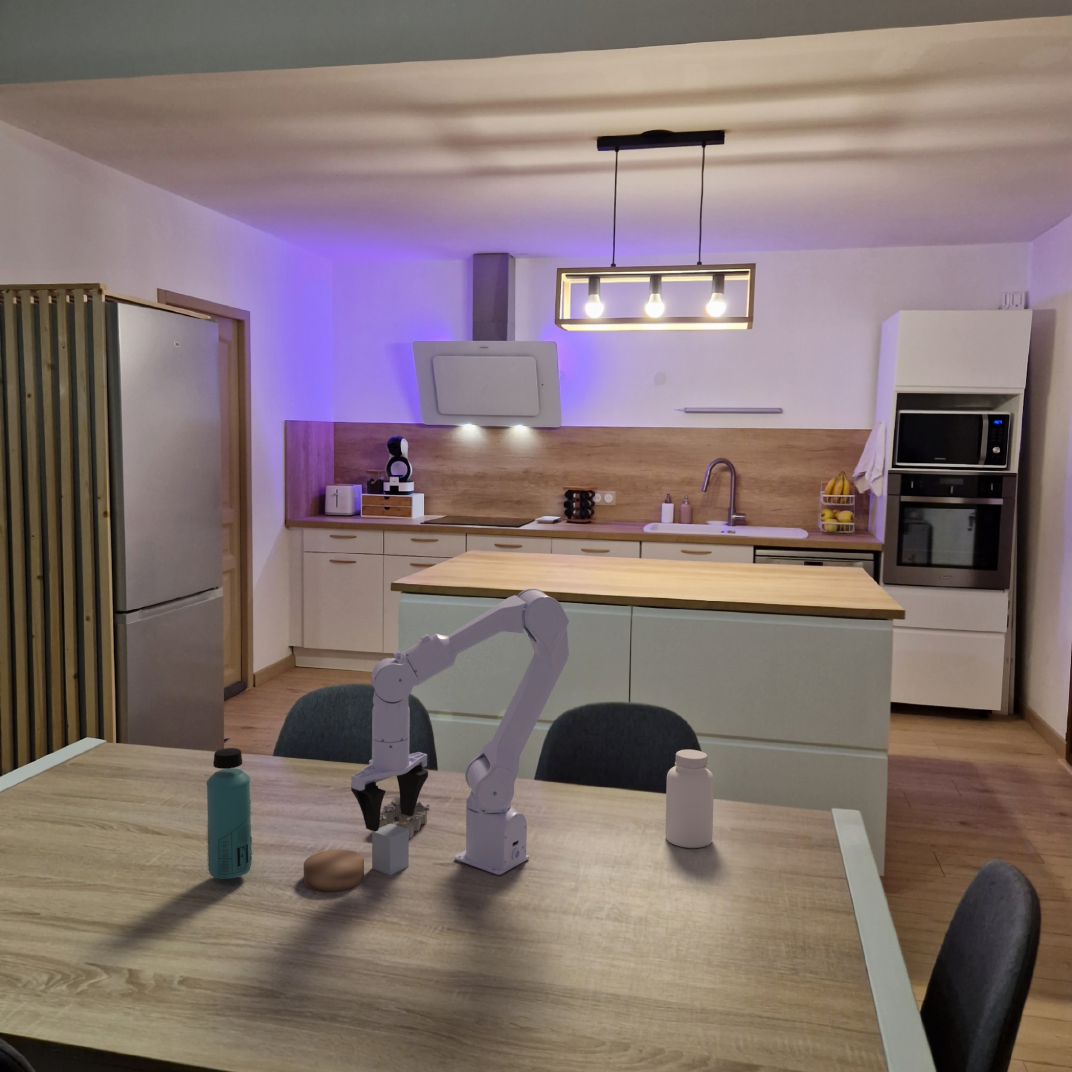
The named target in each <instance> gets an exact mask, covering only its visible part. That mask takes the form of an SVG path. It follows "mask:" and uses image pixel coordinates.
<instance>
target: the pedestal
mask: <svg viewBox="0 0 1072 1072" xmlns="http://www.w3.org/2000/svg"><path fill="white" fill-rule="evenodd" d="M364 878H365V857H364V856H363V855H362V854H361V853H360V852H359V853H358V852H356V851H353V850H349V849H329V850H323V851H320V852H317V853H315V854H314V853H313V854H312V855H310V856H309V857H307V858H306V859H305V860H304V862H303V883H304V885H305V887H307V888H308V889H311V890H313V889H314V890H313V891H316V890H318V891H317V892H323V893H326V892H327V893H333V892H334V891H336V892H340V891H341V890H342V891H346V890H349V889H351V888H352V889H353V888H354V887H356V886H358V885H359V884H361V883H362V881H363V880H364Z"/></svg>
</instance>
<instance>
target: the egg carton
mask: <svg viewBox="0 0 1072 1072" xmlns="http://www.w3.org/2000/svg"><path fill="white" fill-rule="evenodd" d="M430 807H431V806H430V804H426V805H423V804H422V801H417V803H416V806H415V810H414V814H413V816H411V817H410V816H407V815H404V814H401V809H400V797H398V796H395V797H394V798H393V799H392V801H390V803H388V804H387V805H384V806H383V808H381V810H380V825H379V828H381V827H383V826H386V825H388V824H390V823H391V824H394V823H395V818H398V823H396V824H395V825H397V826H400V827H402V828H405V829H408V830H409V840H410V839H412V838H413V837H414V833H415V832H420V829H421V826H422V825H425V824H427V823H428V813H429V812H430V811H431V810H430Z"/></svg>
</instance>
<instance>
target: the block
mask: <svg viewBox="0 0 1072 1072" xmlns="http://www.w3.org/2000/svg"><path fill="white" fill-rule="evenodd" d="M371 837H372V838H371V839H372V840H371V868H372V869H373V870H376V871H377V872H378V871H379V872H380V873H383V874H386V875H389V876H392V875H394V874H397V872H400V871H403V870H404V869H407V868H408V867H409V860H410V859H409V858H410V857H409V856H410V855H409V849H410V848H409V847H410V846H409V845H410V839H409V830H408V829H405V828H402V827H400V826H397V825H396V824H394V823H392V824H391V823H390V824H388V825H386V826H383V827H381V828H379V830H378V831H376V832H374V831H371Z"/></svg>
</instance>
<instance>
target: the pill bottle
mask: <svg viewBox="0 0 1072 1072" xmlns="http://www.w3.org/2000/svg"><path fill="white" fill-rule="evenodd" d="M707 765H708V754H707V753H706V752H703V751H702V750H701V751H700V750H696V749H681V750H679V751H676V753H675V761H674V766H673V767H671V768H670V769H669V770H668V771H667V775H666V792H665V793H666V794H665V796H666V797H665V830H664V832H665V838H666V840H667V841H668V842H669V843H670V844H673V845H675V846H677V847H681V848H685V849H686V848H687V849H688V848H689V849H697V848H699V849H700V848H704V847H707V846H709V845H710V844H711V842H712V840H713V827H714V824H713V823H714V797H715V795H714V794H715V790H714V789H715V778H714V774H713V773H712V771H710V769H708V768H707Z"/></svg>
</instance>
